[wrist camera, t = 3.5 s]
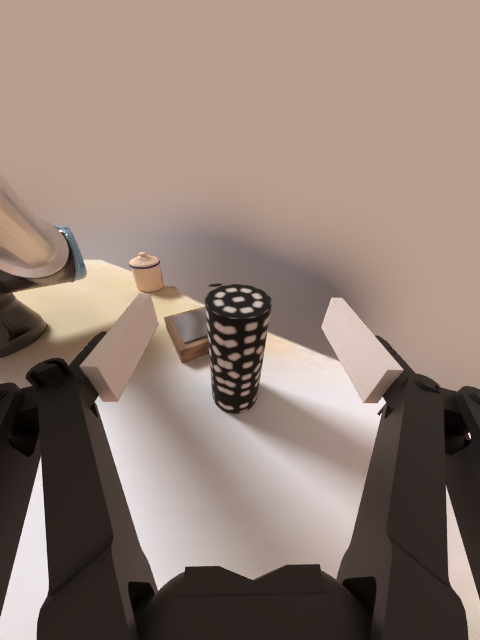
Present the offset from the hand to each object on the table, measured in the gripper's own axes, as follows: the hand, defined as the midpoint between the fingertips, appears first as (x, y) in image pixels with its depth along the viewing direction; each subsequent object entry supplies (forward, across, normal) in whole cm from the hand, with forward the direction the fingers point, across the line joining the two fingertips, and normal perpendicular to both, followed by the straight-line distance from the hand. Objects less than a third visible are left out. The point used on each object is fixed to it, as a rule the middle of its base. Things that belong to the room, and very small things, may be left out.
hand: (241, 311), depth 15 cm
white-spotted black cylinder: (+9, 0, -25) cm, 26 cm away
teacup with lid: (+51, -31, -24) cm, 64 cm away
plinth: (+25, -9, -24) cm, 36 cm away
